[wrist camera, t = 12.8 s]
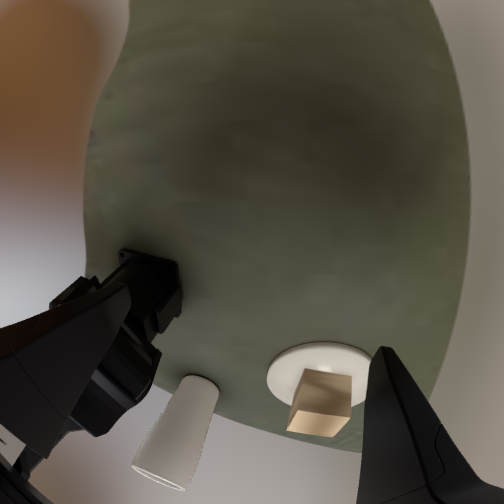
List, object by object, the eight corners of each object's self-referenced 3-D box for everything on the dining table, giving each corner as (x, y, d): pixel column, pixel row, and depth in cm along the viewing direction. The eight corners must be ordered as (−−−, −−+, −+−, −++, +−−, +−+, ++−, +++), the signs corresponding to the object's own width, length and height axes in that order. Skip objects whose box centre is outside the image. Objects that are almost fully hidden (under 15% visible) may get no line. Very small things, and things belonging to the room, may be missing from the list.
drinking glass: (221, 375, 31) (175, 483, 18) (229, 402, 34) (193, 495, 21) (172, 365, 32) (119, 459, 20) (185, 392, 35) (144, 476, 23)
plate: (262, 394, 31) (260, 400, 30) (278, 331, 25) (276, 338, 24) (353, 409, 29) (352, 416, 28) (395, 351, 23) (396, 359, 22)
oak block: (294, 392, 28) (286, 430, 23) (304, 368, 25) (297, 410, 21) (336, 399, 27) (332, 437, 23) (351, 375, 24) (350, 417, 20)
